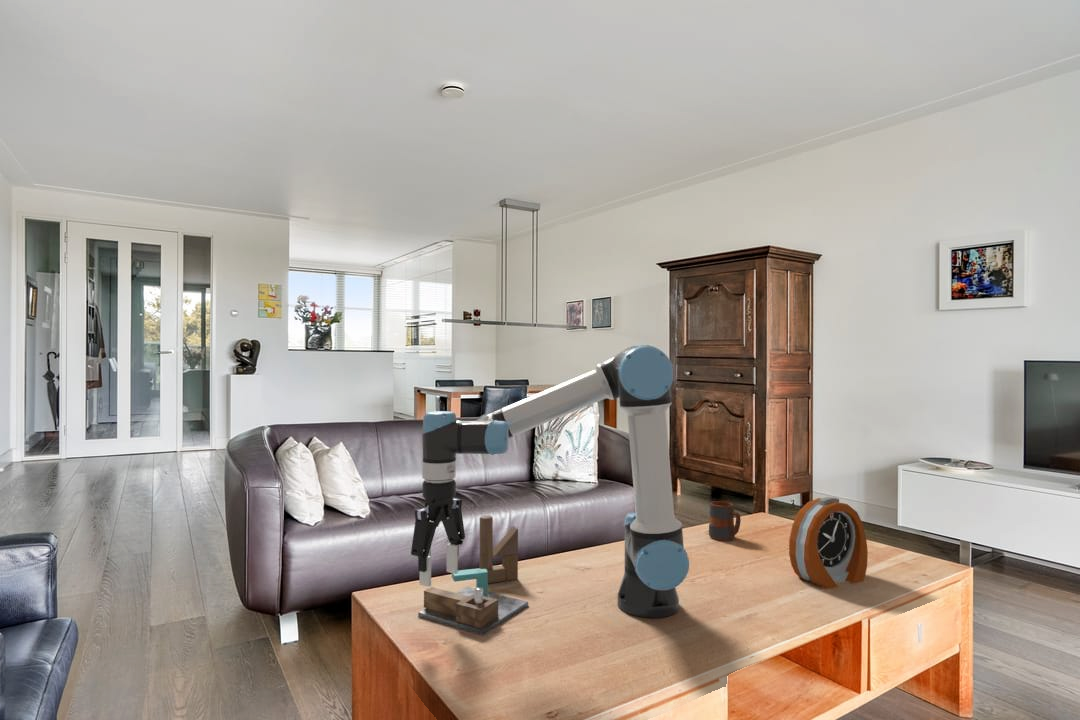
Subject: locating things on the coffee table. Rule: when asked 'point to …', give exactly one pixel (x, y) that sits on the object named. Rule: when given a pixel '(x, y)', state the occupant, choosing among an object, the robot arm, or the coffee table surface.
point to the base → (502, 612)
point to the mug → (723, 521)
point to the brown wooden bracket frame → (498, 552)
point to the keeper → (477, 574)
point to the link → (461, 606)
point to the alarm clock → (828, 543)
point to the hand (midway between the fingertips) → (439, 578)
